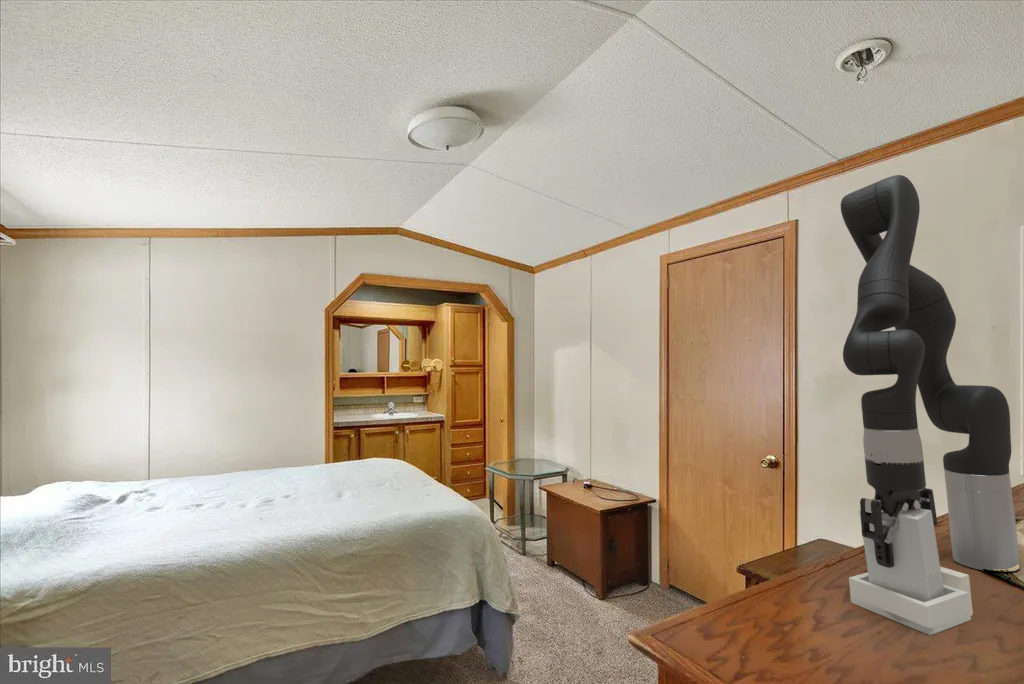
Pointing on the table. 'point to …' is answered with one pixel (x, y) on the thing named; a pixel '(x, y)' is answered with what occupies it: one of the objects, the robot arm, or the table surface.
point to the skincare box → (909, 558)
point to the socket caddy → (912, 606)
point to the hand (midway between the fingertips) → (903, 560)
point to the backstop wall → (957, 582)
